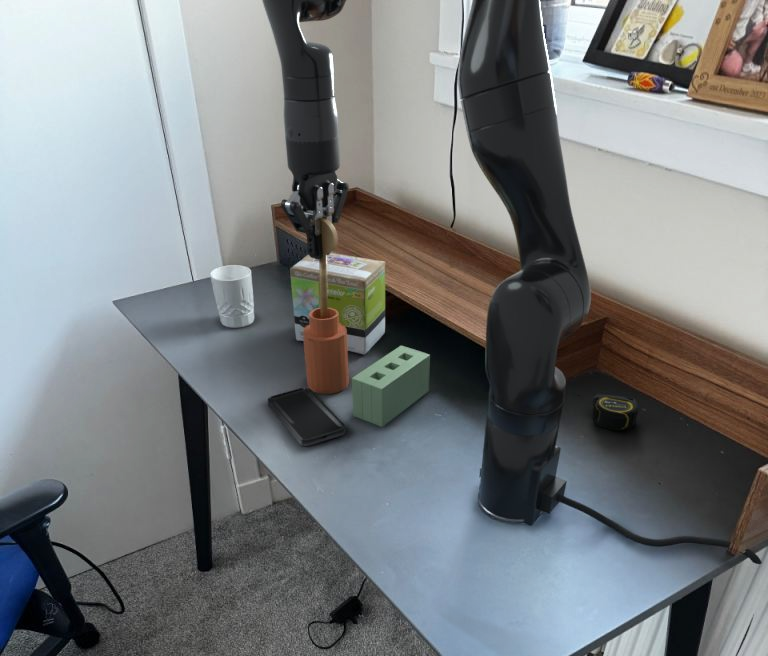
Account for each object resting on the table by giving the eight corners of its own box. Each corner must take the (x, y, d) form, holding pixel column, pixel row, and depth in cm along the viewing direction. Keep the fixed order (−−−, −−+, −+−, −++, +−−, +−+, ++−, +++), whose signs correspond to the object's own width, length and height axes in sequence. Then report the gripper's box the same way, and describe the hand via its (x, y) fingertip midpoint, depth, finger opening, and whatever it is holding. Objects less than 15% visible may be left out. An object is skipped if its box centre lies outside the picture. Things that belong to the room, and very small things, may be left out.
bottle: (356, 380, 127) (354, 311, 119) (331, 398, 123) (326, 327, 114) (325, 369, 130) (320, 300, 122) (299, 386, 126) (292, 315, 118)
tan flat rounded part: (339, 342, 120) (338, 222, 107) (334, 345, 120) (333, 224, 107) (315, 332, 123) (311, 213, 109) (310, 335, 122) (306, 215, 109)
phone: (307, 386, 123) (347, 427, 113) (308, 391, 124) (347, 433, 114) (264, 398, 120) (301, 441, 110) (265, 404, 121) (302, 448, 111)
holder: (428, 391, 124) (430, 354, 120) (382, 427, 116) (381, 388, 111) (400, 381, 127) (401, 345, 122) (353, 415, 118) (351, 378, 114)
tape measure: (633, 414, 118) (638, 394, 116) (634, 437, 113) (640, 416, 110) (591, 409, 119) (595, 389, 117) (590, 431, 114) (594, 411, 112)
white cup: (254, 329, 143) (247, 280, 137) (214, 329, 143) (206, 280, 137) (259, 312, 149) (253, 264, 143) (221, 312, 149) (214, 264, 143)
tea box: (294, 342, 139) (287, 266, 129) (318, 321, 146) (313, 247, 136) (366, 356, 134) (364, 278, 125) (386, 333, 141) (386, 258, 132)
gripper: (300, 146, 95) (310, 275, 106) (362, 127, 104) (365, 248, 115) (258, 139, 99) (272, 264, 110) (322, 120, 107) (328, 238, 118)
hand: (319, 255), depth 112 cm, fingers closed on tan flat rounded part, 1 cm apart
